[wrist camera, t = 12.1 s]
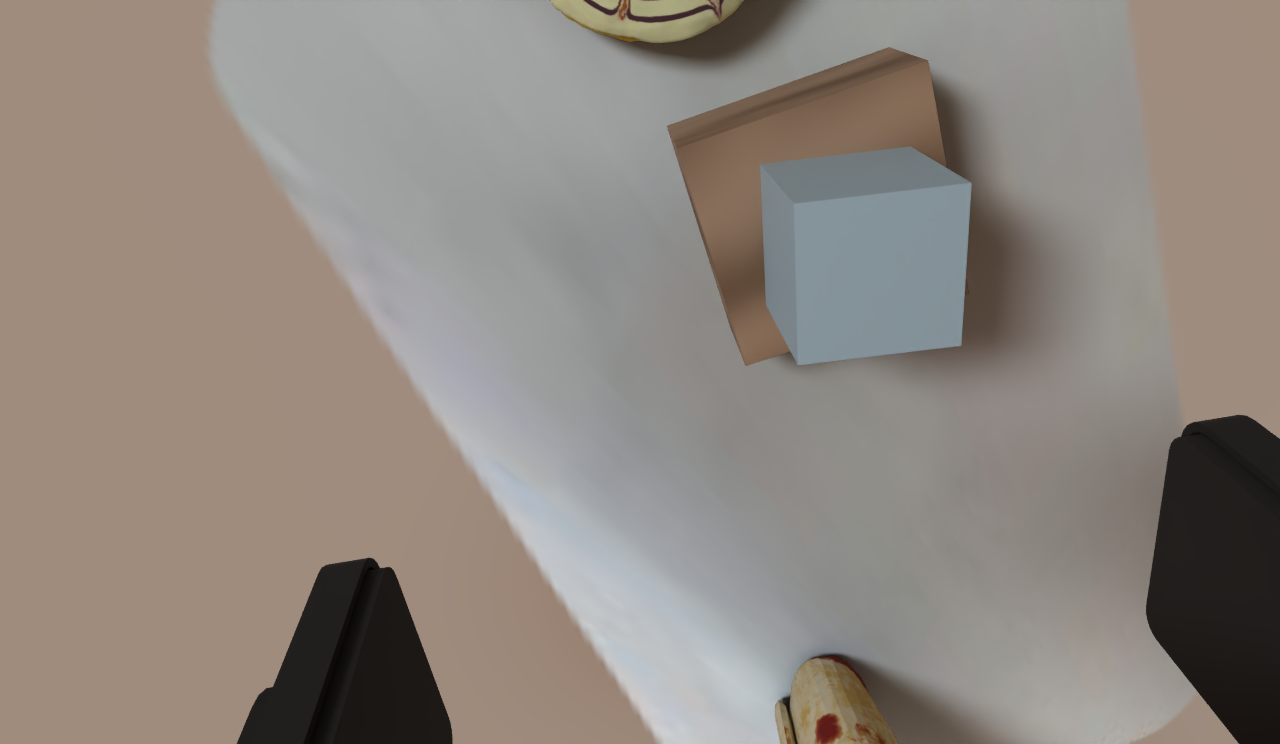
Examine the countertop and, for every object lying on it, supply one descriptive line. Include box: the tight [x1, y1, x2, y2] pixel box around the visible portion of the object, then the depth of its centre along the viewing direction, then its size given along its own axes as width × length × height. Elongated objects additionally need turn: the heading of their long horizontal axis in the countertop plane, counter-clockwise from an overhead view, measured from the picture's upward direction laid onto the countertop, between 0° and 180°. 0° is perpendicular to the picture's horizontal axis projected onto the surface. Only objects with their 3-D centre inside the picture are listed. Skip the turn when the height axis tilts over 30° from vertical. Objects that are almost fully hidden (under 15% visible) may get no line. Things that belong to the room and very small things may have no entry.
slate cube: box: [760, 147, 972, 365], centre depth 33 cm, size 6×6×6 cm
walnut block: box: [667, 47, 969, 366], centre depth 38 cm, size 10×10×5 cm
